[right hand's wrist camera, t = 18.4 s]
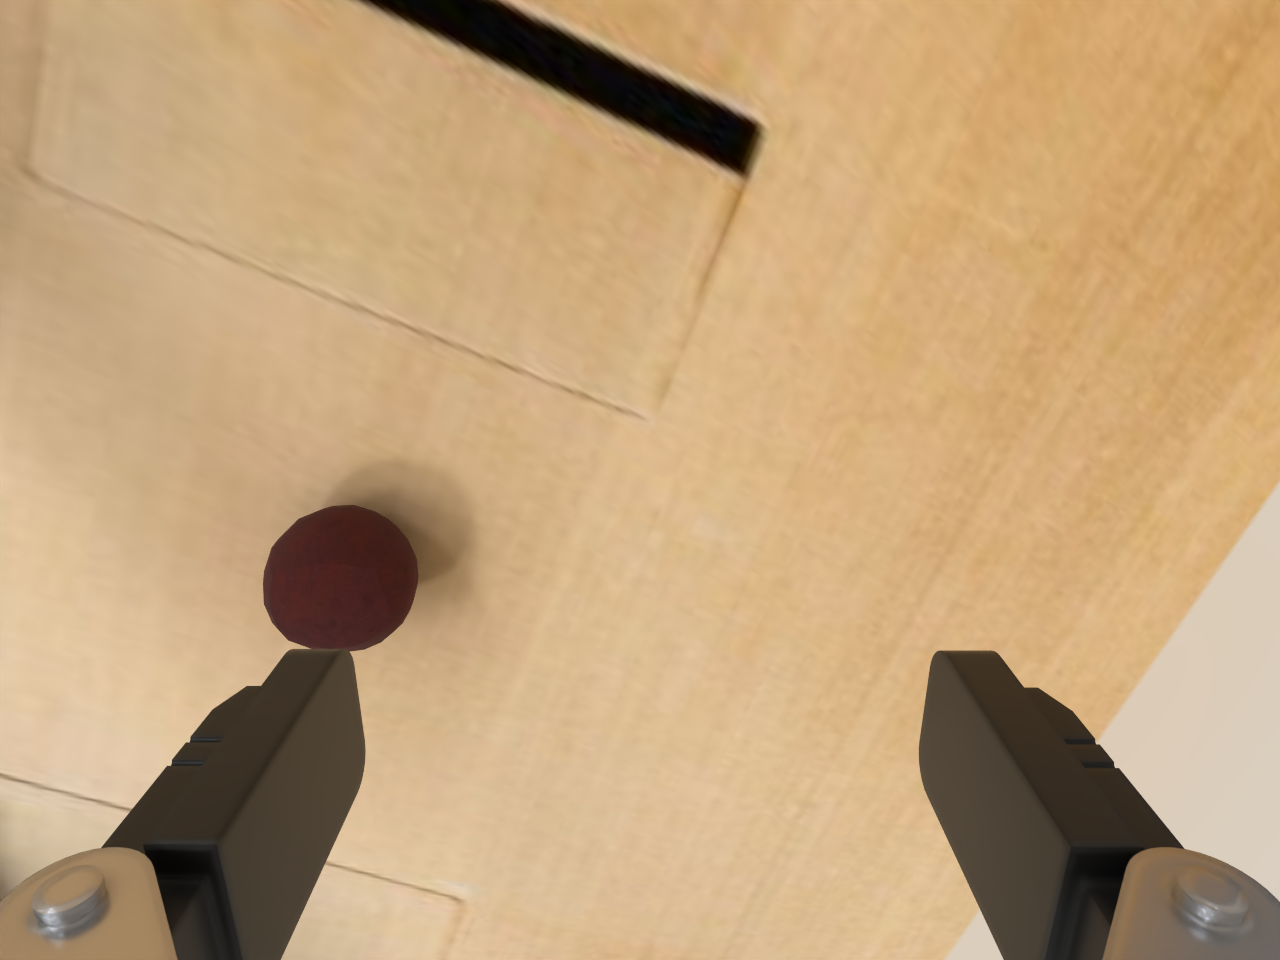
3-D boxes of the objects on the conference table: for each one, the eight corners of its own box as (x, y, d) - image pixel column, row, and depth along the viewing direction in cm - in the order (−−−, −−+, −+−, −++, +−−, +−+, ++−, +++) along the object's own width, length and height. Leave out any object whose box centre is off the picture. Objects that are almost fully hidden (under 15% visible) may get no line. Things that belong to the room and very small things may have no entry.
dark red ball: (444, 600, 47) (411, 670, 40) (310, 614, 47) (256, 686, 40) (416, 480, 44) (377, 533, 37) (275, 495, 44) (211, 551, 38)
